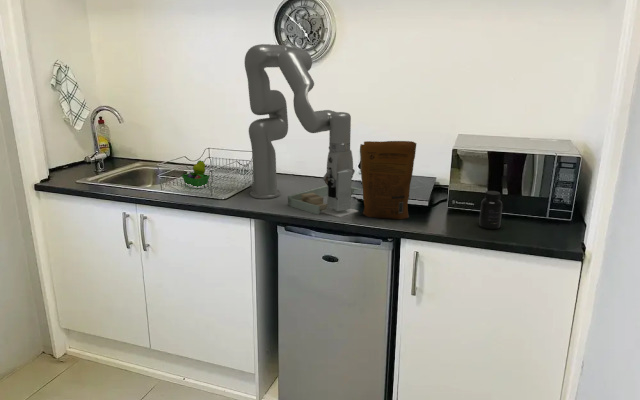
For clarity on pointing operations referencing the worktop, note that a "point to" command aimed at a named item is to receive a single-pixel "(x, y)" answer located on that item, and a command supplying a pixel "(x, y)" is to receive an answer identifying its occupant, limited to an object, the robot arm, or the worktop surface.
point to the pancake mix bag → (386, 177)
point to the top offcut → (312, 198)
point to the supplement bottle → (491, 210)
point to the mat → (339, 212)
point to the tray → (296, 203)
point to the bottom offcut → (322, 206)
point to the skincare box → (342, 192)
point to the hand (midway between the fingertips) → (339, 194)
